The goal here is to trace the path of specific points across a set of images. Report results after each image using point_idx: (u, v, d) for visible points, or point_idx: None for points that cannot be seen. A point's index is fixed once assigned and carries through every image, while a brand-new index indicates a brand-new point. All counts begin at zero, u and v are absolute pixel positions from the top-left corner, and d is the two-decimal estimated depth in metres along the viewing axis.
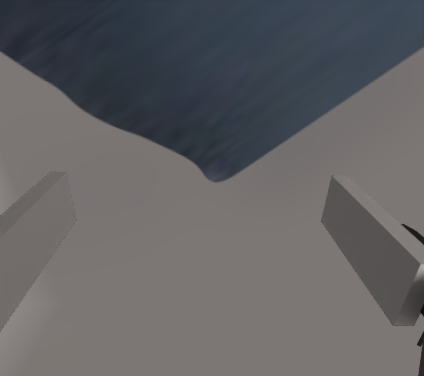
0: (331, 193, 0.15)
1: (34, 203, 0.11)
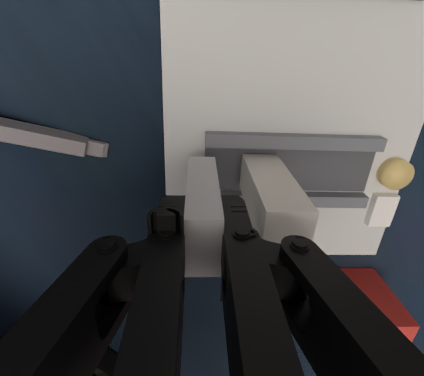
0: None
1: (202, 179, 0.14)
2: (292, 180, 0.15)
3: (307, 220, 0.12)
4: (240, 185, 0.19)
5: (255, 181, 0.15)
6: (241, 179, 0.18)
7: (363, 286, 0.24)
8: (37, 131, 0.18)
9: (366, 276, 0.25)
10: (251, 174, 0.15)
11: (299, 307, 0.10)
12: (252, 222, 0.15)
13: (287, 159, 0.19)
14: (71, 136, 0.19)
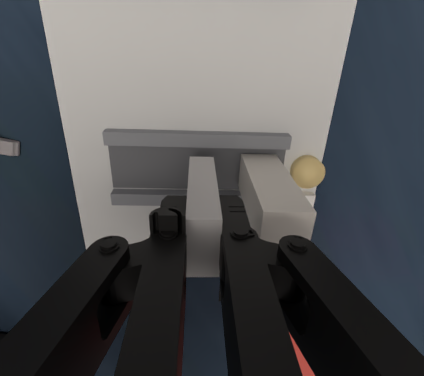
0: None
1: (203, 179, 0.14)
2: (290, 180, 0.15)
3: (304, 220, 0.12)
4: (239, 185, 0.19)
5: (253, 181, 0.15)
6: (240, 179, 0.18)
7: None
8: None
9: None
10: (249, 174, 0.15)
11: (297, 307, 0.10)
12: (250, 222, 0.15)
13: None
14: None
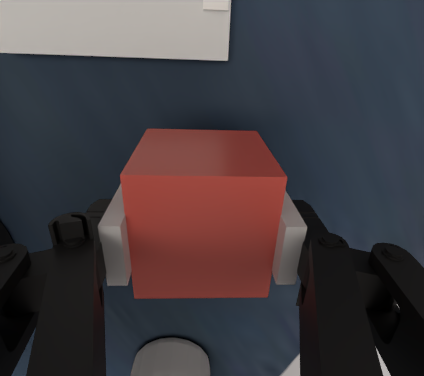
0: None
1: None
2: None
3: None
4: None
5: None
6: None
7: (221, 142, 0.14)
8: None
9: (236, 136, 0.15)
10: None
11: (384, 317, 0.09)
12: None
13: None
14: None
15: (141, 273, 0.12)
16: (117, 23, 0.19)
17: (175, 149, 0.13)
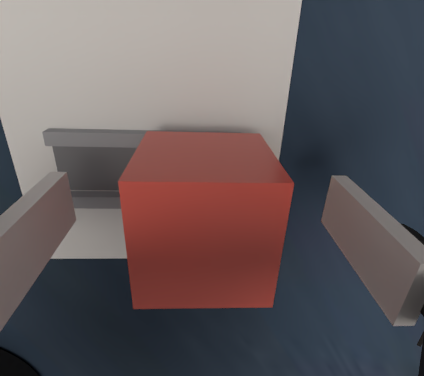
0: (331, 193, 0.15)
1: (34, 203, 0.11)
2: None
3: None
4: None
5: None
6: None
7: (223, 145, 0.13)
8: None
9: (239, 138, 0.14)
10: None
11: None
12: None
13: None
14: None
15: (140, 283, 0.11)
16: None
17: (176, 153, 0.12)
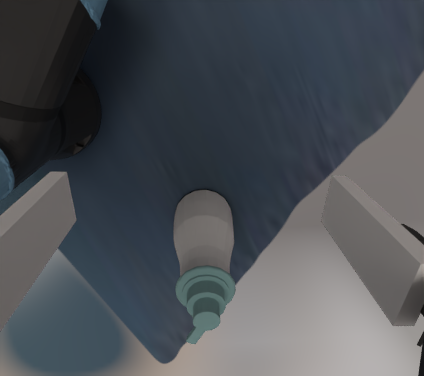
0: (331, 193, 0.15)
1: (34, 203, 0.11)
2: None
3: None
4: None
5: None
6: None
7: None
8: None
9: None
10: None
11: None
12: None
13: None
14: None
15: None
16: None
17: None
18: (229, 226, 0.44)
